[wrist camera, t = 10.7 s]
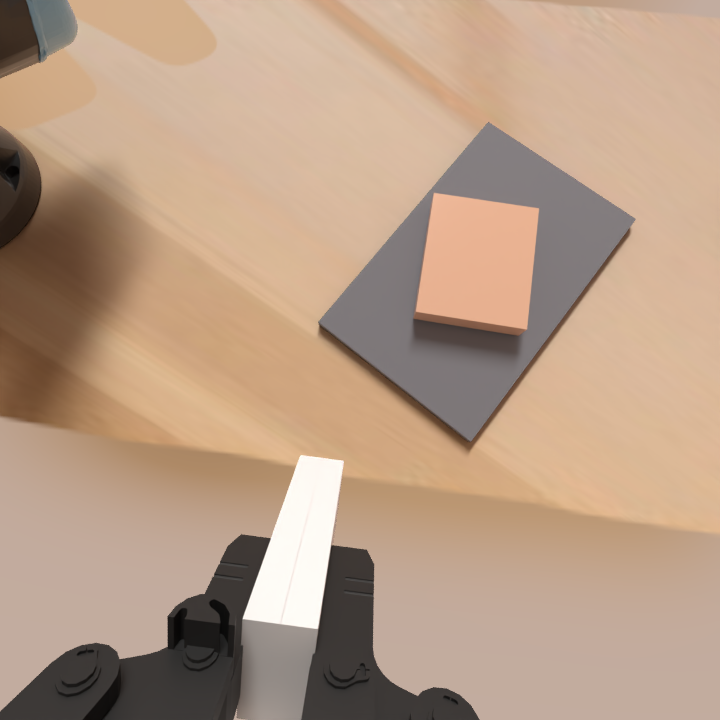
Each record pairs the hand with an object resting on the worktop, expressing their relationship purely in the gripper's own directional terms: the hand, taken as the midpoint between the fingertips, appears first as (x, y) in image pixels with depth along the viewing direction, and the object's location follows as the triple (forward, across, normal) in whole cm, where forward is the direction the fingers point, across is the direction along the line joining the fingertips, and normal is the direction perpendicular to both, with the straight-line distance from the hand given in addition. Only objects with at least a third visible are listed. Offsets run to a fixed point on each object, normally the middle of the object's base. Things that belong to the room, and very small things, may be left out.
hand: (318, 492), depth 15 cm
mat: (+32, +11, +6) cm, 34 cm away
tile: (+27, +10, +2) cm, 29 cm away
